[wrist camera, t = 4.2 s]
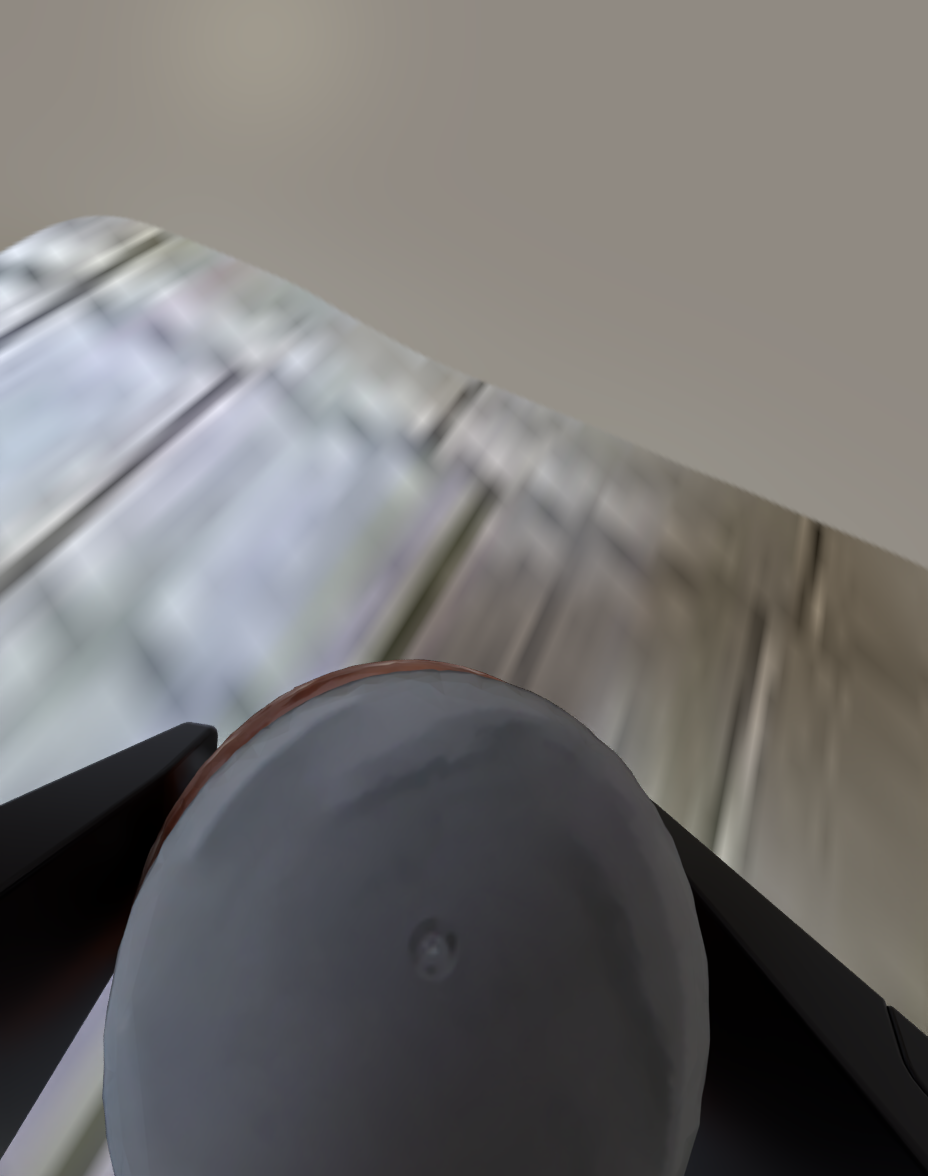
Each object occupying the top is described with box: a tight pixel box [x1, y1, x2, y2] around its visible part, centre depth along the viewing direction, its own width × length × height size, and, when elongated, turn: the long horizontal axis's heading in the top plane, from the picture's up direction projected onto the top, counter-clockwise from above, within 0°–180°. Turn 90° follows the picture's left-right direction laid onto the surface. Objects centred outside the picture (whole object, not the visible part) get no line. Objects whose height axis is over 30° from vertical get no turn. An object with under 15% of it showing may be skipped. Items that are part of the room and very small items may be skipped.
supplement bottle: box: [102, 660, 710, 1176], centre depth 8 cm, size 6×6×11 cm
